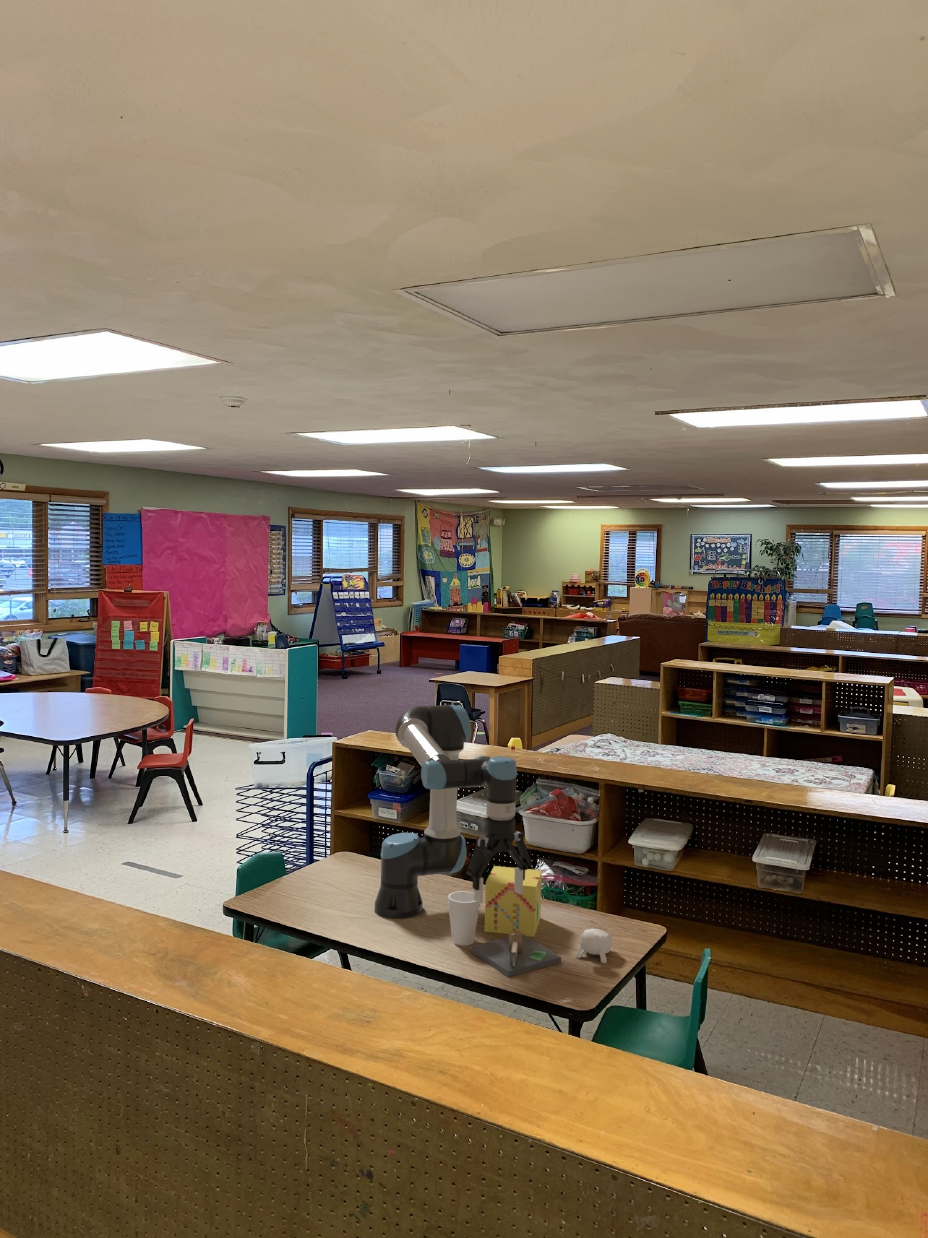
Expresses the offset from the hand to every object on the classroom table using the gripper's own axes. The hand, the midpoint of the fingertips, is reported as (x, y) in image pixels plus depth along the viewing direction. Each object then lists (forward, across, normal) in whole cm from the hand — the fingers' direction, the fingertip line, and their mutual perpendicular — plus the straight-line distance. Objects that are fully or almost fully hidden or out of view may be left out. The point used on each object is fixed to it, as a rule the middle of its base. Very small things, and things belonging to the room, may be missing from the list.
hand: (498, 897), depth 227 cm
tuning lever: (+19, +8, +3) cm, 20 cm away
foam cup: (+21, +4, +22) cm, 30 cm away
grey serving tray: (+21, +11, +6) cm, 24 cm away
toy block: (+21, +24, +25) cm, 40 cm away
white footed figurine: (+21, +30, -5) cm, 37 cm away
